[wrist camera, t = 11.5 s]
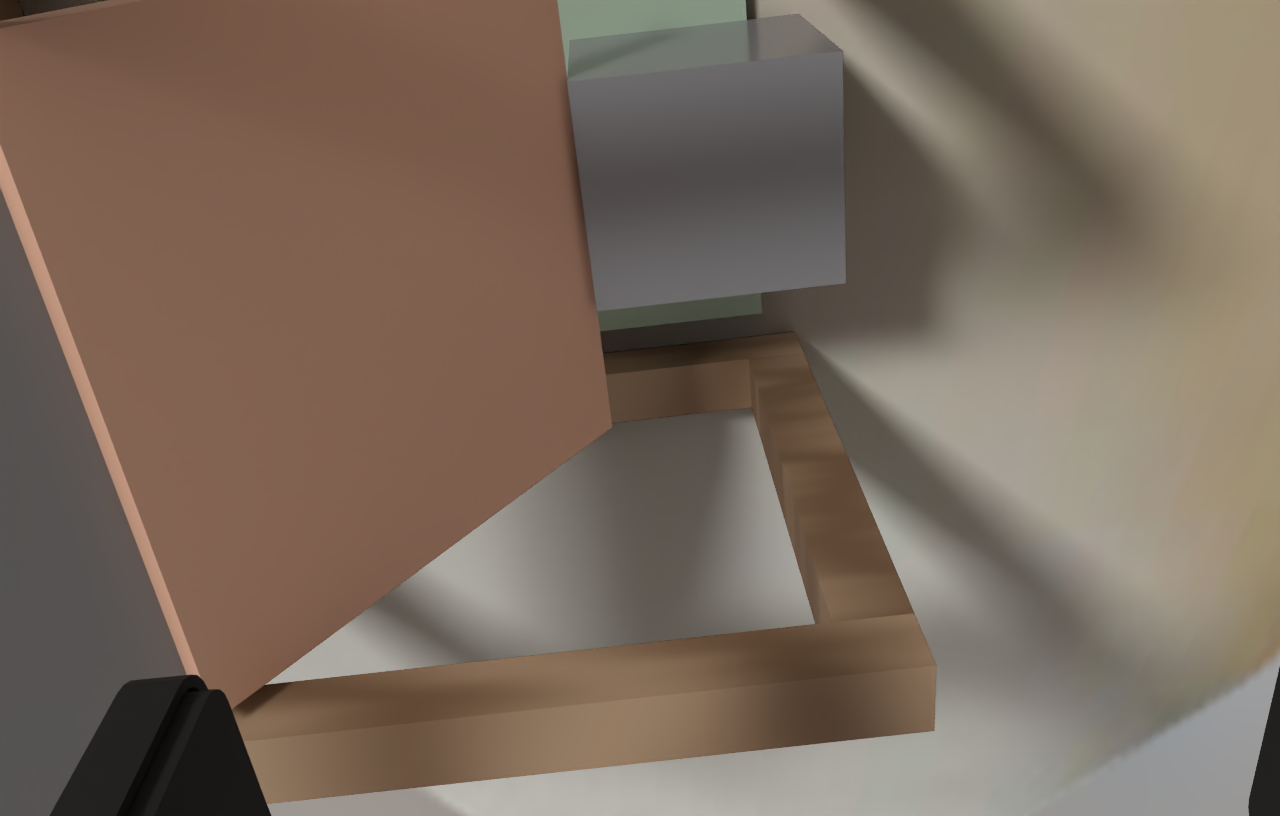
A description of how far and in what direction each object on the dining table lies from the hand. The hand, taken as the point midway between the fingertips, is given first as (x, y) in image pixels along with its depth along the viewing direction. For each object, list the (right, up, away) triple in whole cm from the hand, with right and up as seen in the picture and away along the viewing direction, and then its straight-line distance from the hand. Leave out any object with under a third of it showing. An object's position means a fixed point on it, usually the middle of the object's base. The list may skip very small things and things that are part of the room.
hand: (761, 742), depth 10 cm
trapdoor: (-11, +5, +12) cm, 17 cm away
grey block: (-3, +9, +18) cm, 20 cm away
